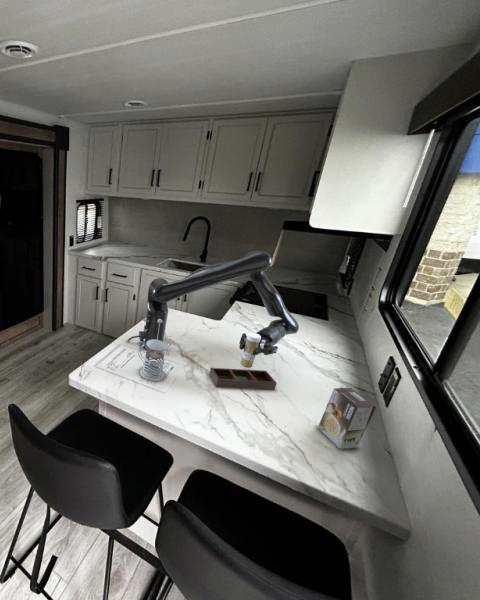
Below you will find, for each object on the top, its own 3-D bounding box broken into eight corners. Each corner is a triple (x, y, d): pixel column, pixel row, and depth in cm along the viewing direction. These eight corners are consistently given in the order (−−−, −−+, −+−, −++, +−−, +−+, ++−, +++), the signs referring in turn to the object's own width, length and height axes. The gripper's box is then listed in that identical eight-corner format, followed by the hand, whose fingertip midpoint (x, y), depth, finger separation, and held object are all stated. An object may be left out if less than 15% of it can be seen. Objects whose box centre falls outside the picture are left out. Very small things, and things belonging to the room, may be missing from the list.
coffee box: (358, 448, 98) (378, 407, 92) (339, 449, 97) (358, 407, 91) (334, 426, 106) (351, 387, 100) (316, 426, 106) (332, 387, 100)
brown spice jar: (237, 362, 125) (245, 332, 120) (247, 361, 126) (255, 331, 121) (244, 369, 121) (253, 338, 116) (255, 368, 122) (264, 337, 117)
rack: (274, 390, 123) (276, 382, 122) (216, 387, 124) (217, 379, 122) (263, 377, 131) (266, 370, 129) (208, 374, 131) (210, 367, 130)
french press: (159, 384, 124) (168, 327, 114) (132, 374, 129) (139, 319, 120) (167, 372, 131) (176, 318, 122) (141, 363, 137) (148, 310, 128)
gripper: (252, 322, 132) (231, 333, 123) (289, 336, 122) (269, 349, 112) (247, 338, 135) (227, 350, 125) (283, 353, 125) (264, 367, 115)
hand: (247, 350), depth 119 cm, fingers closed on brown spice jar, 4 cm apart
